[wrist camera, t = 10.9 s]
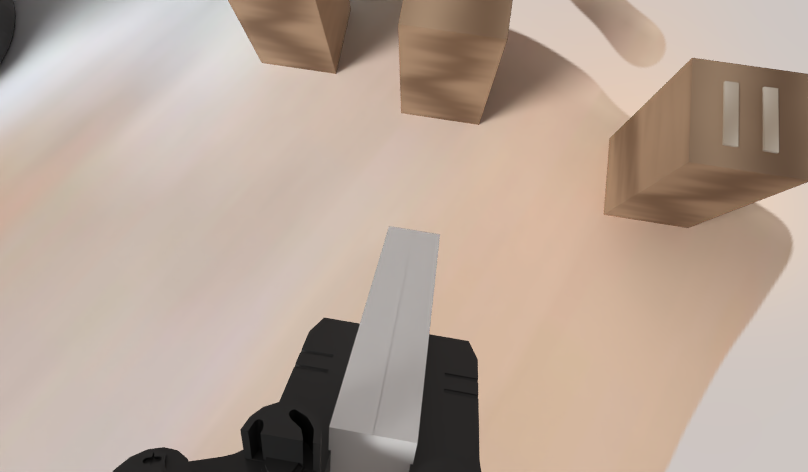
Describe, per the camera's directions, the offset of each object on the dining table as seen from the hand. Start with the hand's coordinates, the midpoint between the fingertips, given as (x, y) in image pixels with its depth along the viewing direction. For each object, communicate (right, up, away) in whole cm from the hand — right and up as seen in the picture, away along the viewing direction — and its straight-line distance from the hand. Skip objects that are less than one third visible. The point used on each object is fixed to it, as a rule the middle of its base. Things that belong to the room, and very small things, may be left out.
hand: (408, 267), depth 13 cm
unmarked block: (+3, +13, +21) cm, 25 cm away
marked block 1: (+18, +5, +19) cm, 27 cm away
